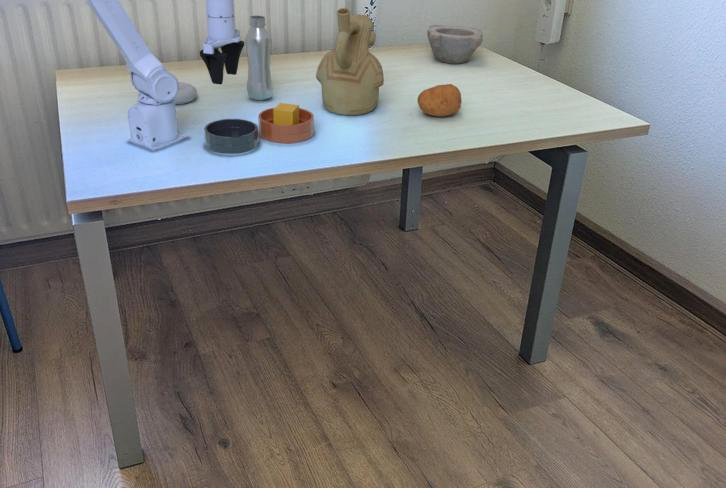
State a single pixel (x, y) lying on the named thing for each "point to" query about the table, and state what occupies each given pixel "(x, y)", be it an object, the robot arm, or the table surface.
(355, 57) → the ceramic vessel
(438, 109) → the potato
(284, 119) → the block
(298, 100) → the table surface
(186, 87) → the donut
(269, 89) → the silver bottle
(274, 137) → the bowl
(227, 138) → the pot
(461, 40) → the mortar
